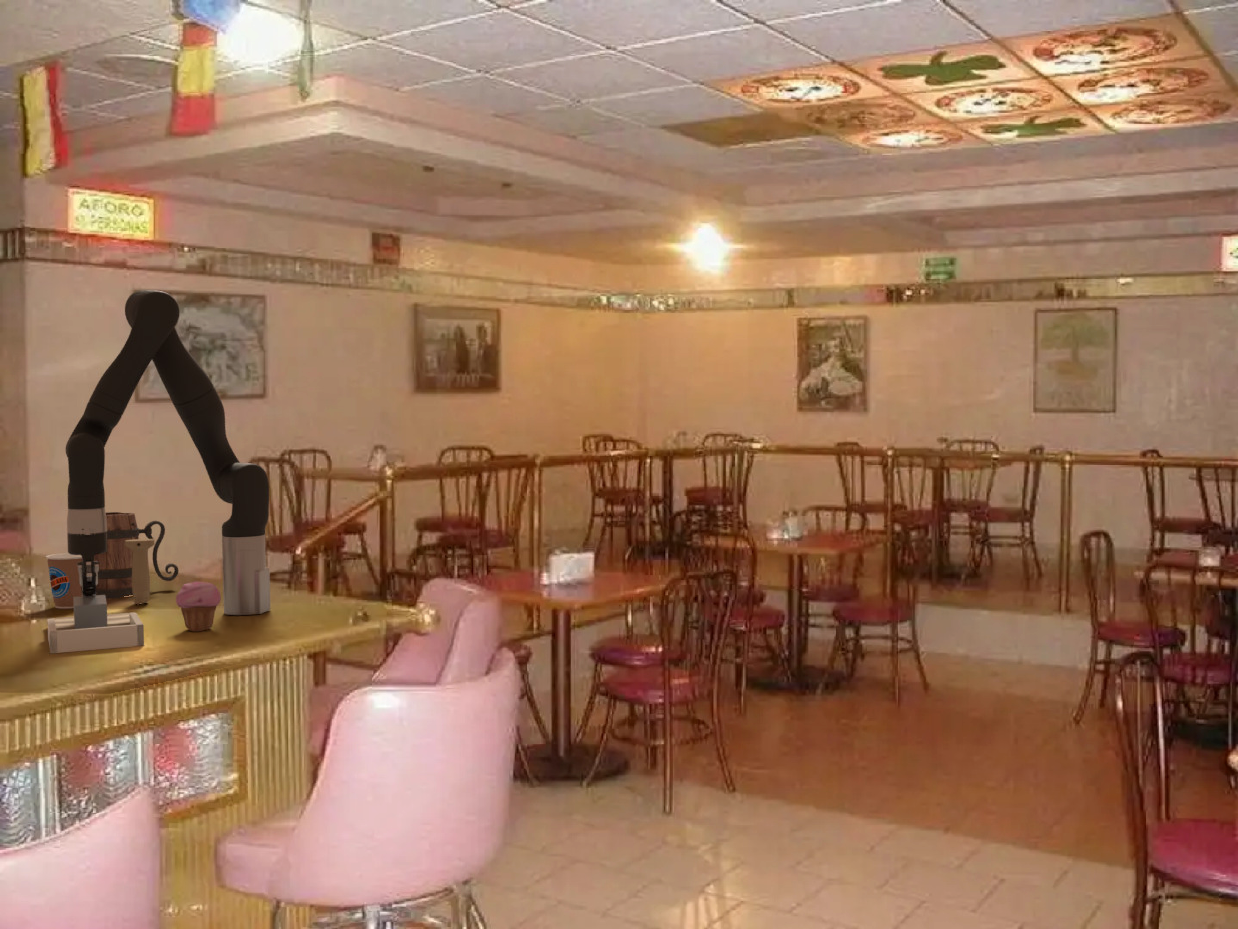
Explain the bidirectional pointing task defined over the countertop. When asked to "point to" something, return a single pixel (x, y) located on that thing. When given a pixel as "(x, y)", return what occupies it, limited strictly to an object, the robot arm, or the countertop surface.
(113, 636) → the box
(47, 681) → the countertop surface
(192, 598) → the cupcake
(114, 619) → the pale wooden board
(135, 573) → the handle
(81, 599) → the matte grey cube
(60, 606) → the coffee cup
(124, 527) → the tankard
